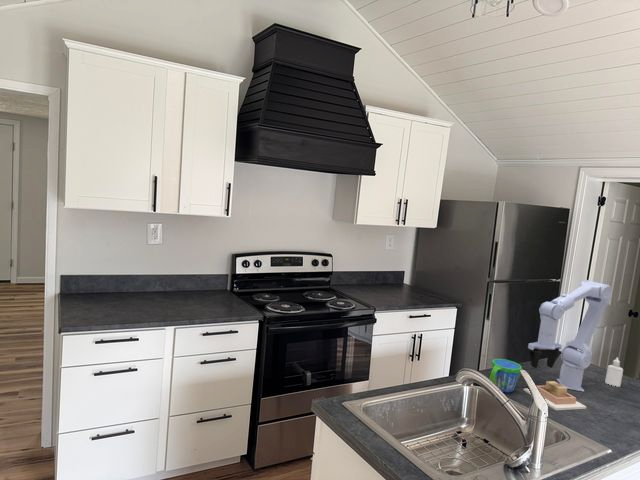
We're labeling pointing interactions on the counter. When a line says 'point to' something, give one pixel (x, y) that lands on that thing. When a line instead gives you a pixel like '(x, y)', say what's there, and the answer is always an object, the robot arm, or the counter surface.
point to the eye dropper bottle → (614, 374)
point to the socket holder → (559, 400)
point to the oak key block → (555, 389)
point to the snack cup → (505, 374)
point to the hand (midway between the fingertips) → (541, 366)
